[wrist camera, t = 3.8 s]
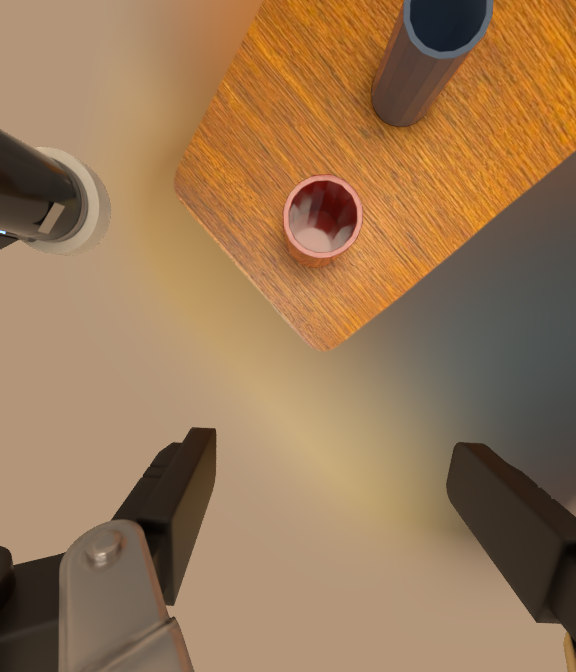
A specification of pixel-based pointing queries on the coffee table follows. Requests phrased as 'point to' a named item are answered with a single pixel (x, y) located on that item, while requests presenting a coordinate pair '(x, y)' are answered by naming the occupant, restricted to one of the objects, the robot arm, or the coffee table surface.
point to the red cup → (321, 219)
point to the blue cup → (426, 55)
